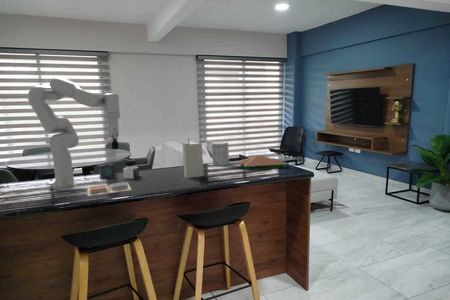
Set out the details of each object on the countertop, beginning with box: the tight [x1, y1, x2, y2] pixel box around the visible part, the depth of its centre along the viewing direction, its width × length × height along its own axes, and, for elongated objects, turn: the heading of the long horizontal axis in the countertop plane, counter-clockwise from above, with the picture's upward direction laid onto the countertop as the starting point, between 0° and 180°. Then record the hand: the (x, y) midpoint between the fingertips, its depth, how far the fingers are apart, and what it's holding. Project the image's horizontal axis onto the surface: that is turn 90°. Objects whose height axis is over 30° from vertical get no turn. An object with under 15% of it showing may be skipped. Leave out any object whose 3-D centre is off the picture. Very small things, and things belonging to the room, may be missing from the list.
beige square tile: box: [110, 181, 128, 191], centre depth 168 cm, size 8×2×8 cm
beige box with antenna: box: [182, 137, 205, 179], centre depth 194 cm, size 8×12×26 cm
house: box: [237, 155, 288, 171], centre depth 219 cm, size 23×33×8 cm
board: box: [86, 182, 132, 197], centre depth 167 cm, size 22×18×1 cm
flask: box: [98, 161, 116, 180], centre depth 197 cm, size 9×3×11 cm, turn 110°
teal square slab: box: [89, 184, 107, 194], centre depth 164 cm, size 8×2×8 cm
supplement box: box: [211, 141, 230, 167], centre depth 228 cm, size 10×9×17 cm
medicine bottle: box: [122, 159, 140, 180], centre depth 193 cm, size 7×7×12 cm
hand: (115, 148), depth 169 cm, fingers closed
